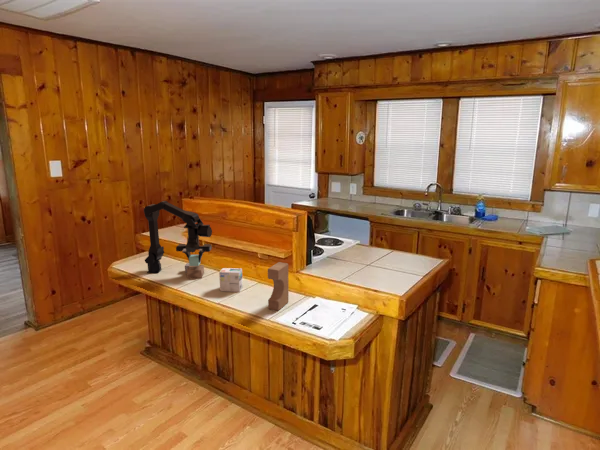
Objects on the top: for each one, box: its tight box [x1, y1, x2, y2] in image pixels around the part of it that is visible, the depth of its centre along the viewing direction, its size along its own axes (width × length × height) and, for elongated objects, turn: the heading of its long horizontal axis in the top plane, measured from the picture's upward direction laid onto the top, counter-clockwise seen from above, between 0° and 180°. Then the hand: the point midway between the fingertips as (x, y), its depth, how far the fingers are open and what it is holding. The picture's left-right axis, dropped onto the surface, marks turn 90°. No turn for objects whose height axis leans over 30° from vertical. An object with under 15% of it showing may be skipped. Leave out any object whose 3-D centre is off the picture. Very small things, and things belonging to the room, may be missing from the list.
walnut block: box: [186, 264, 205, 279], centre depth 228 cm, size 8×8×5 cm
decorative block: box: [267, 261, 289, 312], centre depth 189 cm, size 11×6×20 cm, turn 154°
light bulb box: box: [218, 267, 244, 293], centre depth 209 cm, size 11×7×11 cm, turn 84°
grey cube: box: [184, 262, 189, 274], centre depth 235 cm, size 4×4×4 cm
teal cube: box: [188, 254, 202, 266], centre depth 227 cm, size 5×5×5 cm
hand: (194, 262), depth 227 cm, fingers closed on teal cube, 5 cm apart
